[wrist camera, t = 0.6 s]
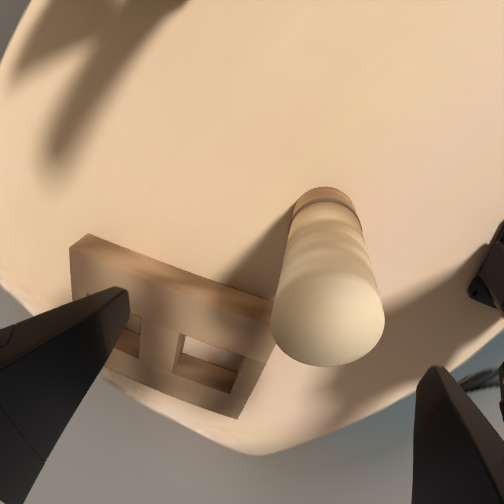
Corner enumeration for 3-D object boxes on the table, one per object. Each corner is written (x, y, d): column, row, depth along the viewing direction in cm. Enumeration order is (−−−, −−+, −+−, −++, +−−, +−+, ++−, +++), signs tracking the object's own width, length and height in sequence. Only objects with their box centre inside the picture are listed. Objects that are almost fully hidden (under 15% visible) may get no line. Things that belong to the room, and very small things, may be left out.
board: (286, 306, 22) (282, 329, 20) (243, 398, 28) (237, 419, 26) (88, 233, 23) (69, 247, 21) (92, 337, 29) (79, 353, 26)
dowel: (366, 199, 18) (407, 299, 9) (341, 255, 20) (352, 377, 11) (304, 176, 18) (292, 259, 9) (283, 234, 20) (254, 348, 11)
